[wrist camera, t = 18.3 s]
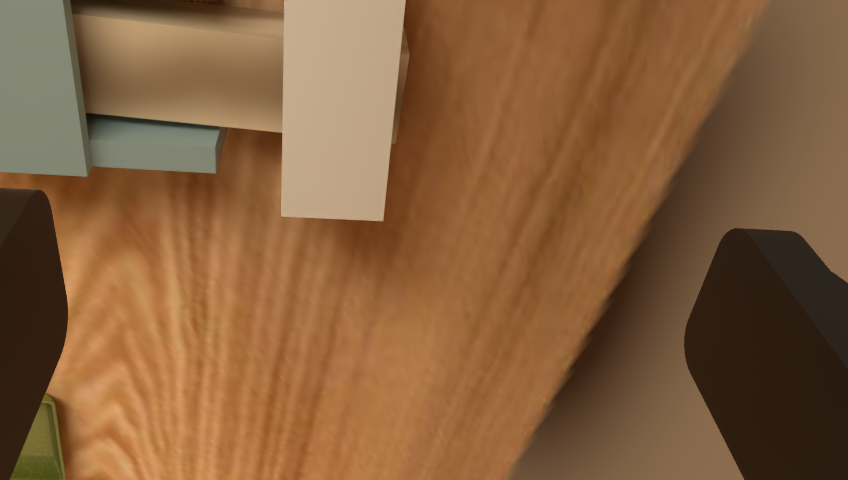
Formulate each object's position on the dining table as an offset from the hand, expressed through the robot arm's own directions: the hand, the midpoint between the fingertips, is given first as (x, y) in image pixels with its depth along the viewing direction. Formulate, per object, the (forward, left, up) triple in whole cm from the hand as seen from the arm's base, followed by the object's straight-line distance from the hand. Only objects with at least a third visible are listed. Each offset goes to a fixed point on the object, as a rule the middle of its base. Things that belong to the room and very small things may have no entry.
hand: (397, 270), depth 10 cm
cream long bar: (+11, -6, -34) cm, 36 cm away
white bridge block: (+10, 0, -33) cm, 35 cm away
